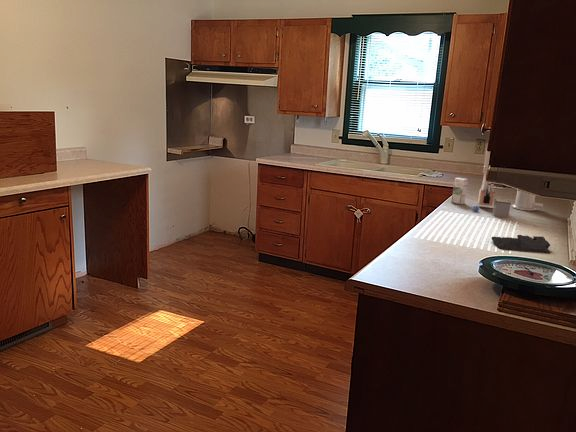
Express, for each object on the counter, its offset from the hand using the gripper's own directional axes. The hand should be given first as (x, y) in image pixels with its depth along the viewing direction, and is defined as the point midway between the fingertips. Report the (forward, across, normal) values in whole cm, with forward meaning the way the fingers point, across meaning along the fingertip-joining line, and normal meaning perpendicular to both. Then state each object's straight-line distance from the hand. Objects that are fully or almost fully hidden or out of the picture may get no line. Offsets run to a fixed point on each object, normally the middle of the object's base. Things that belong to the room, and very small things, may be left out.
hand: (485, 201), depth 280 cm
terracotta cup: (+1, 0, 0) cm, 1 cm away
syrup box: (+4, -4, -14) cm, 15 cm away
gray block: (+3, +18, +6) cm, 19 cm away
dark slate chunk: (+4, +76, +6) cm, 77 cm away
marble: (+3, +14, -6) cm, 16 cm away
